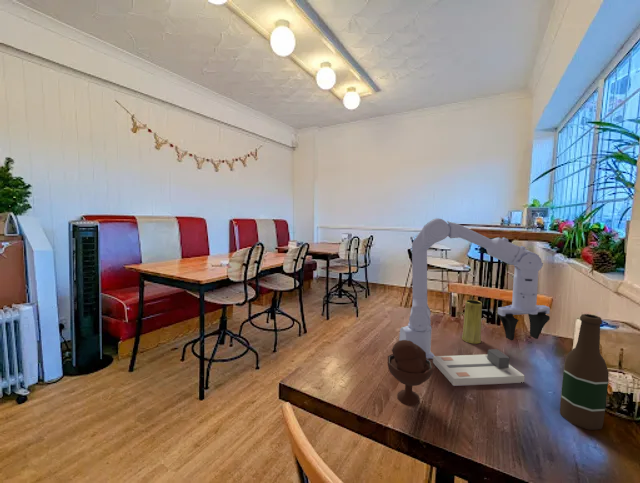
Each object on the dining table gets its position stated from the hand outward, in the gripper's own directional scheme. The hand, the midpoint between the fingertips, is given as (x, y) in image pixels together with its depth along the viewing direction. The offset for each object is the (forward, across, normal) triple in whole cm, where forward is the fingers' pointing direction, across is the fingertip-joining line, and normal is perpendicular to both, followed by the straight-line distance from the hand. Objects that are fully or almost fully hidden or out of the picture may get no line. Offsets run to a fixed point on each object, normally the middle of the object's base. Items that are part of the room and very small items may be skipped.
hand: (521, 338), depth 86 cm
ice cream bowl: (+9, -38, -10) cm, 40 cm away
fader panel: (+10, -14, 0) cm, 17 cm away
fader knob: (+7, -7, 0) cm, 10 cm away
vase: (+10, -2, +20) cm, 22 cm away
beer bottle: (+10, -2, -20) cm, 23 cm away
